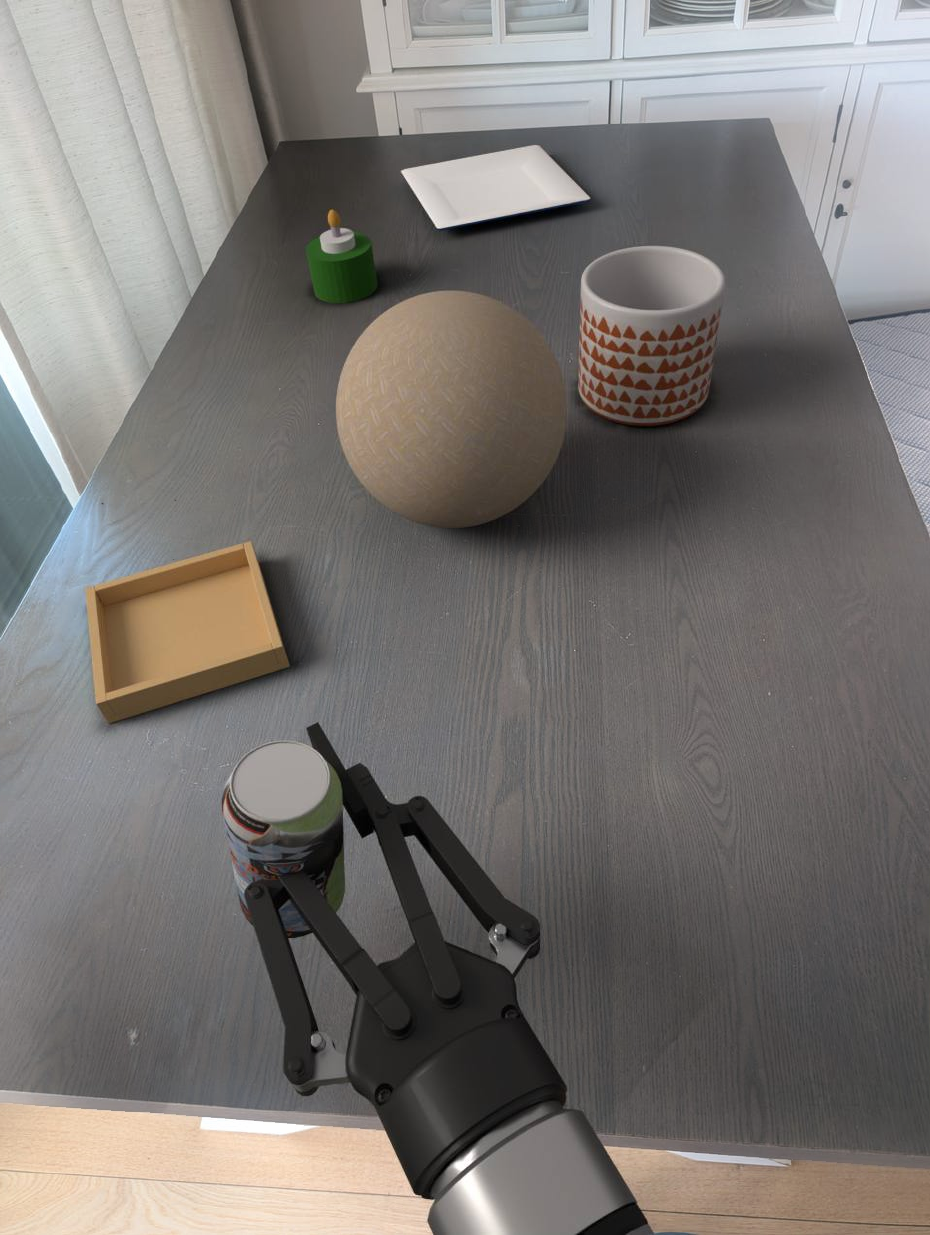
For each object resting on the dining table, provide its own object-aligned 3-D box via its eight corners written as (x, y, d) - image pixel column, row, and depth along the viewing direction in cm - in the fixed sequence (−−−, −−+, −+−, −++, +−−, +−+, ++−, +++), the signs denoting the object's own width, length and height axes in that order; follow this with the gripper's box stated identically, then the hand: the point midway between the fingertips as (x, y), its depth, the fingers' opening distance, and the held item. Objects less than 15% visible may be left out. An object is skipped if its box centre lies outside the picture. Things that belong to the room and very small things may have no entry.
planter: (611, 441, 90) (618, 325, 80) (558, 374, 99) (559, 262, 90) (733, 408, 92) (753, 292, 83) (670, 345, 101) (682, 234, 92)
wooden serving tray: (108, 724, 70) (95, 703, 68) (96, 608, 79) (85, 587, 77) (289, 667, 73) (283, 645, 71) (258, 561, 81) (251, 540, 80)
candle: (328, 270, 120) (313, 194, 113) (386, 274, 118) (375, 196, 111) (304, 300, 115) (287, 222, 107) (364, 305, 113) (351, 226, 105)
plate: (590, 212, 126) (591, 197, 125) (438, 242, 123) (437, 227, 122) (538, 157, 141) (538, 143, 140) (401, 182, 138) (400, 168, 137)
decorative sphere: (379, 597, 77) (338, 399, 63) (339, 463, 91) (298, 274, 76) (597, 543, 80) (607, 341, 65) (527, 421, 93) (522, 230, 79)
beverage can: (227, 891, 53) (164, 783, 44) (331, 819, 56) (292, 704, 47) (281, 973, 50) (225, 873, 41) (388, 892, 52) (358, 782, 44)
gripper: (339, 1286, 37) (172, 852, 52) (648, 1072, 42) (416, 729, 57) (303, 1259, 32) (128, 781, 46) (663, 1016, 37) (403, 652, 51)
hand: (287, 753), depth 51 cm, fingers closed on beverage can, 3 cm apart
